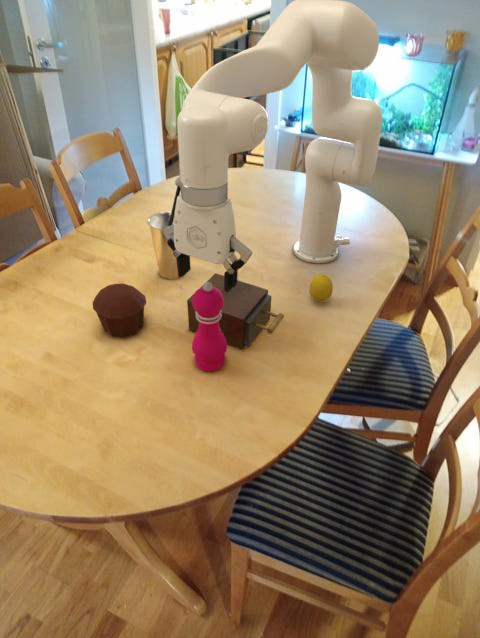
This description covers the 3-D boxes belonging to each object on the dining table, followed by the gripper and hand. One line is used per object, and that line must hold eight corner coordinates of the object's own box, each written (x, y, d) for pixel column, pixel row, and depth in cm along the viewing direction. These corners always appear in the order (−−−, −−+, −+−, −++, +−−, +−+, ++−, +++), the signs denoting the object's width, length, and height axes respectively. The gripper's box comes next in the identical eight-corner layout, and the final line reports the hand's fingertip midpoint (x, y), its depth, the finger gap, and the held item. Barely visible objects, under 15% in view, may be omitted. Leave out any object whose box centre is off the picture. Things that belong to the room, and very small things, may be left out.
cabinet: (266, 319, 110) (268, 289, 105) (242, 350, 102) (243, 319, 96) (215, 302, 115) (215, 273, 110) (188, 330, 107) (186, 300, 101)
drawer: (287, 325, 107) (289, 301, 103) (266, 354, 100) (268, 329, 96) (222, 303, 113) (222, 280, 109) (198, 329, 106) (197, 305, 101)
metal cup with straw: (188, 287, 120) (183, 173, 101) (146, 282, 121) (133, 168, 102) (199, 265, 128) (196, 155, 109) (159, 260, 129) (149, 151, 111)
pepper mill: (192, 350, 102) (187, 272, 89) (226, 349, 102) (226, 271, 90) (192, 374, 96) (187, 295, 83) (228, 373, 96) (228, 293, 84)
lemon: (332, 297, 117) (336, 270, 112) (327, 310, 113) (332, 283, 108) (310, 293, 119) (314, 266, 114) (305, 305, 115) (309, 278, 110)
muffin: (158, 318, 110) (154, 283, 104) (131, 347, 102) (125, 311, 96) (116, 305, 114) (110, 270, 107) (87, 332, 106) (78, 296, 99)
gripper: (146, 188, 76) (155, 277, 86) (241, 212, 70) (239, 305, 80) (172, 173, 81) (178, 258, 92) (263, 194, 75) (258, 283, 85)
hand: (206, 280), depth 86 cm, fingers open, 9 cm apart
